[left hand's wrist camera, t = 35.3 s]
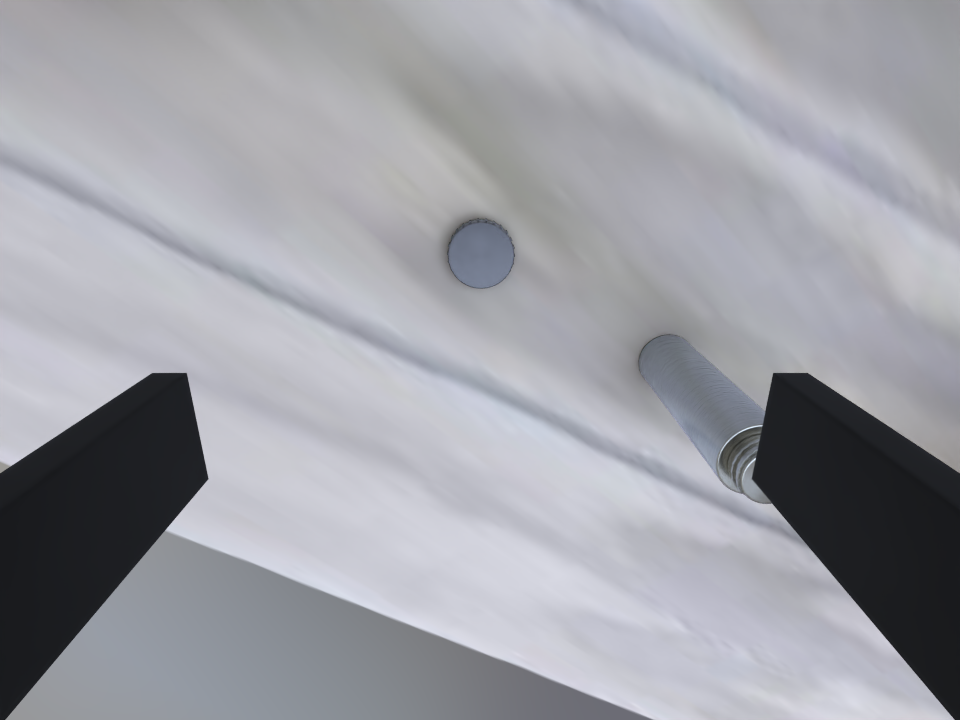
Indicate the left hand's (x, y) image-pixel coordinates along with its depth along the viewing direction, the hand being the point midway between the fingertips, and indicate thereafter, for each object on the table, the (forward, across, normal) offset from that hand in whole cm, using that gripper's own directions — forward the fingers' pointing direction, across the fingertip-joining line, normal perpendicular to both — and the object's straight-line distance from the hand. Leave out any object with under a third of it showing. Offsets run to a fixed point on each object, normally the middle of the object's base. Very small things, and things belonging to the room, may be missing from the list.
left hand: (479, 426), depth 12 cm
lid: (+25, 0, 0) cm, 25 cm away
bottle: (+27, +14, -8) cm, 31 cm away
